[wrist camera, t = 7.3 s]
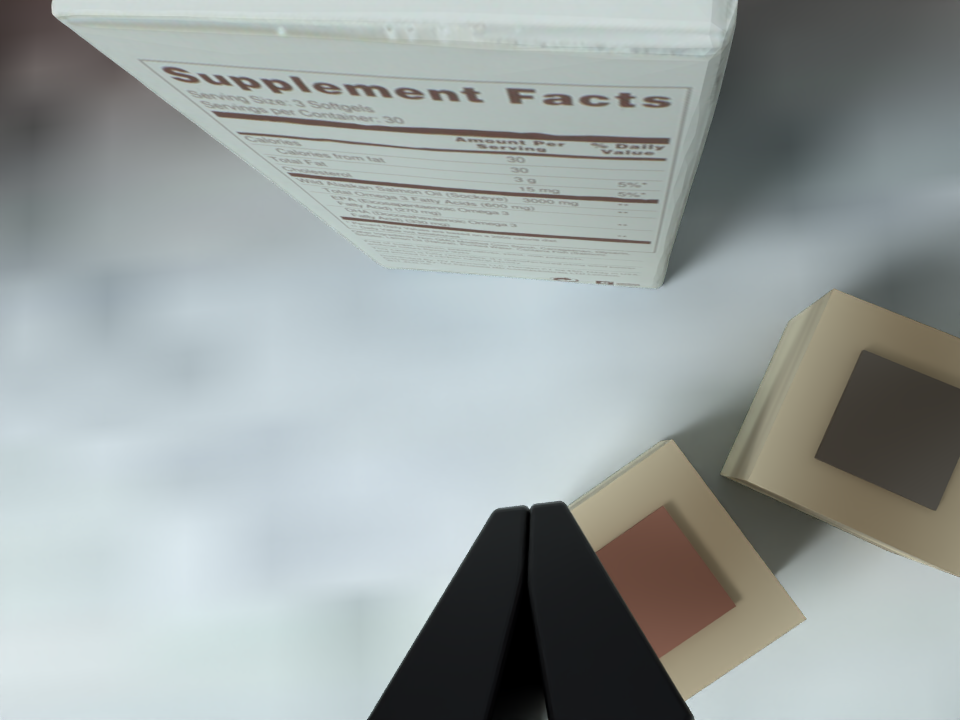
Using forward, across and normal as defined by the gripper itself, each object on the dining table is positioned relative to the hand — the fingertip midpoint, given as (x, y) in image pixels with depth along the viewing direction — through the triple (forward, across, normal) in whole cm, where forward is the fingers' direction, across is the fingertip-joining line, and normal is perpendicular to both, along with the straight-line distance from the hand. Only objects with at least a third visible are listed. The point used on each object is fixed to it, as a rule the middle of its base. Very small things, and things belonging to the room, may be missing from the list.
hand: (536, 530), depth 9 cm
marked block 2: (+8, -6, +6) cm, 12 cm away
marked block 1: (+7, -1, +8) cm, 10 cm away
